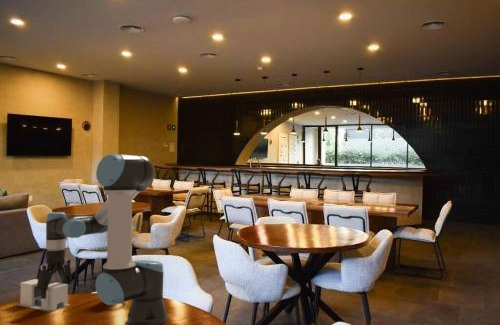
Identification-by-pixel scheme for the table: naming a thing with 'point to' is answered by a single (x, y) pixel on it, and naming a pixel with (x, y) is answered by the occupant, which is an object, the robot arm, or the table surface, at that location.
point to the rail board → (39, 303)
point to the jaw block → (57, 295)
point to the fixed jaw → (29, 292)
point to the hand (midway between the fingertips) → (54, 302)
